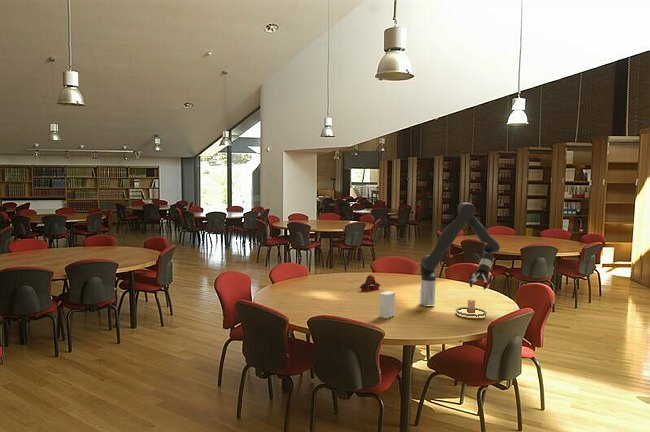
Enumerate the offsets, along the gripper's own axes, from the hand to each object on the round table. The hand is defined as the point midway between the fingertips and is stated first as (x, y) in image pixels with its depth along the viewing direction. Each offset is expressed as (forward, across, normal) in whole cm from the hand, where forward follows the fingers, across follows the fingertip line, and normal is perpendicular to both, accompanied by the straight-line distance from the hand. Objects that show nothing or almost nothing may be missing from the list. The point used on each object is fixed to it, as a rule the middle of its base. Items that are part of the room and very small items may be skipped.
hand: (477, 287), depth 323 cm
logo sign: (+6, -83, +16) cm, 84 cm away
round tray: (+18, 0, +4) cm, 18 cm away
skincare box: (+45, -38, -22) cm, 63 cm away
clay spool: (+17, 0, +4) cm, 18 cm away
